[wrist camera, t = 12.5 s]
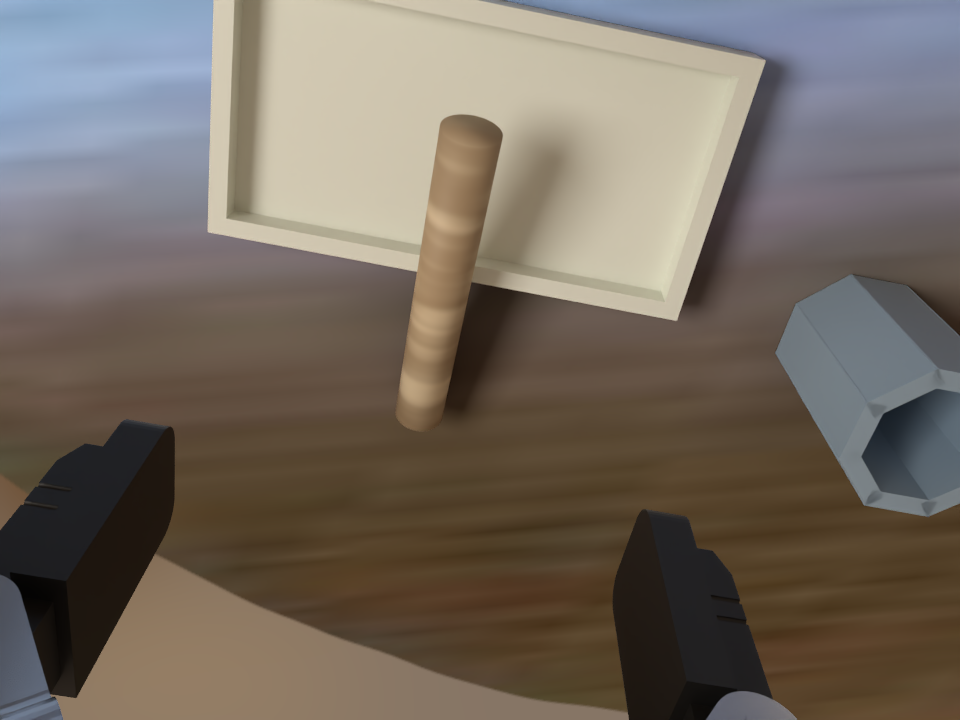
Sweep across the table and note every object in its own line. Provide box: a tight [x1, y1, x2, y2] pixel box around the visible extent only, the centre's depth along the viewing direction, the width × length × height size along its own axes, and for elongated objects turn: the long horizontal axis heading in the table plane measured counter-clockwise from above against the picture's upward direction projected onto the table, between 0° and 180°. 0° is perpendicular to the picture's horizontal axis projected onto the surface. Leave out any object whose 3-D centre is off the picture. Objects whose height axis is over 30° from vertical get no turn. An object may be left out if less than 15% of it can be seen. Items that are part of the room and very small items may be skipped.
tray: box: [208, 0, 766, 321], centre depth 35 cm, size 12×22×2 cm, turn 79°
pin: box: [396, 114, 503, 431], centre depth 36 cm, size 6×2×16 cm
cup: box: [775, 274, 960, 517], centre depth 36 cm, size 7×7×9 cm
